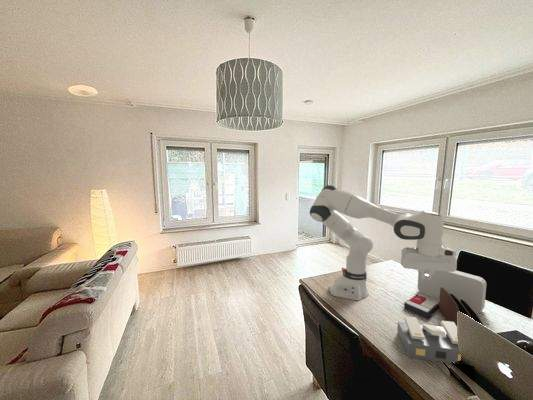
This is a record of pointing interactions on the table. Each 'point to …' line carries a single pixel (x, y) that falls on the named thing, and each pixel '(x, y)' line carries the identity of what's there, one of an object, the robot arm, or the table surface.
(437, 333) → the rocker
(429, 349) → the switch console
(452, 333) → the rocker
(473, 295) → the rounded white slab
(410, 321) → the rocker
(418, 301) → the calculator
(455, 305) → the letter holder
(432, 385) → the table surface
